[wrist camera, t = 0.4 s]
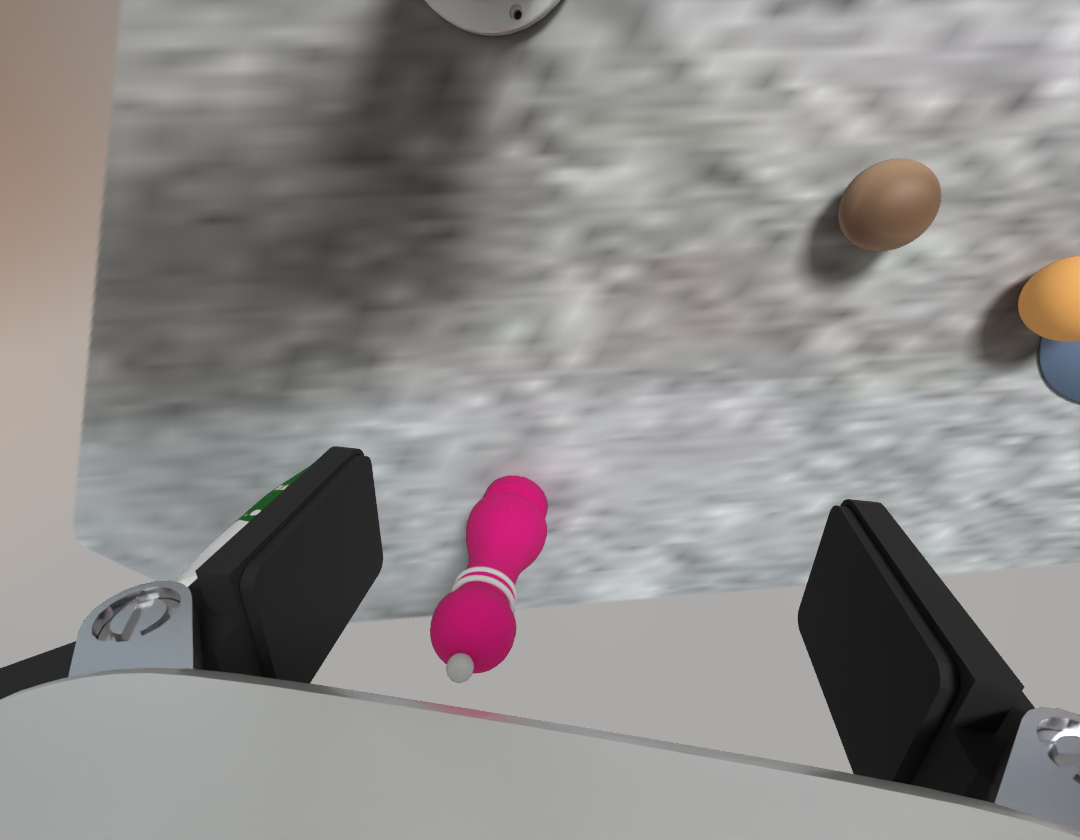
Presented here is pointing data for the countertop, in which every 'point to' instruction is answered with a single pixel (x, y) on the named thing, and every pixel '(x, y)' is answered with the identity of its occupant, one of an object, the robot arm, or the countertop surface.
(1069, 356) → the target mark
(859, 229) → the brown egg
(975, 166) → the countertop surface
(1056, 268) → the object ball
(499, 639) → the pepper mill
